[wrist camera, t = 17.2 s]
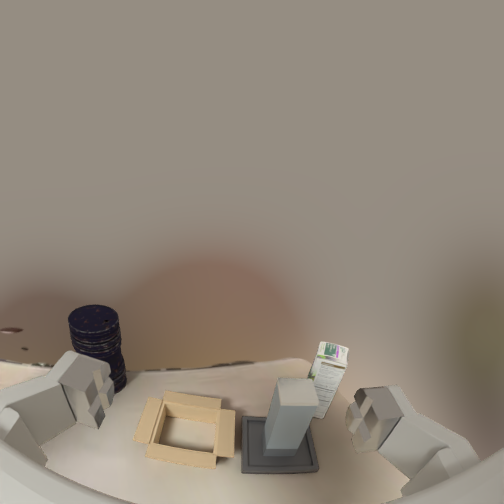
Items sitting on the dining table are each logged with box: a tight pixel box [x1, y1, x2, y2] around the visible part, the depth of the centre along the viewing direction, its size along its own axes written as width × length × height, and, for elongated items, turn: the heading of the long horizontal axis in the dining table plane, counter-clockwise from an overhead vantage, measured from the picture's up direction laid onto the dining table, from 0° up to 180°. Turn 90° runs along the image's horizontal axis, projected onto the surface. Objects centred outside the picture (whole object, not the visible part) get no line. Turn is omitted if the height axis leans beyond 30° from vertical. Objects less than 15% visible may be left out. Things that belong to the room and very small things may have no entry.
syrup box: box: [307, 342, 349, 419], centre depth 46 cm, size 6×6×14 cm
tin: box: [262, 378, 319, 456], centre depth 36 cm, size 5×5×14 cm
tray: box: [241, 416, 319, 474], centre depth 37 cm, size 12×12×1 cm
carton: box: [133, 391, 235, 469], centre depth 36 cm, size 15×15×4 cm
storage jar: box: [68, 305, 127, 394], centre depth 43 cm, size 10×10×15 cm
